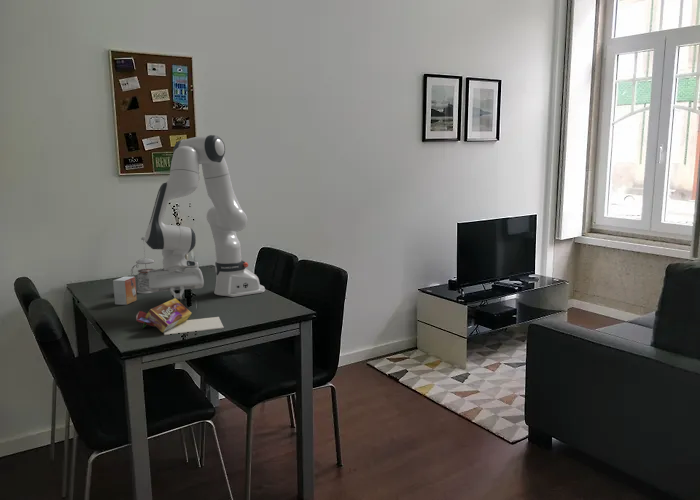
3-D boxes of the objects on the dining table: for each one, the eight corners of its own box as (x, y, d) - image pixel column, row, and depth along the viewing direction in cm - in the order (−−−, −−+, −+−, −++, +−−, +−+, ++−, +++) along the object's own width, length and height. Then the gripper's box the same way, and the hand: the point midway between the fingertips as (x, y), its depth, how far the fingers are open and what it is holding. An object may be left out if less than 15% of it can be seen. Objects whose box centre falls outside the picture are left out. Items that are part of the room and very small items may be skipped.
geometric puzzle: (164, 318, 212) (150, 302, 211) (158, 324, 205) (144, 307, 204) (149, 329, 213) (135, 313, 212) (143, 335, 206) (128, 319, 205)
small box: (126, 305, 239) (124, 280, 237) (114, 304, 240) (112, 280, 238) (137, 300, 246) (135, 276, 245) (125, 299, 248) (123, 276, 246)
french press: (154, 293, 257) (150, 238, 253) (128, 293, 258) (124, 238, 253) (161, 288, 267) (158, 235, 263) (137, 288, 267) (132, 235, 263)
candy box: (170, 305, 216) (144, 316, 202) (175, 297, 215) (150, 307, 201) (186, 321, 215) (162, 333, 201) (192, 313, 214) (168, 324, 200)
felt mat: (218, 317, 219) (218, 316, 219) (223, 328, 206) (223, 327, 206) (162, 323, 212) (162, 322, 212) (164, 335, 199) (164, 334, 199)
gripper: (146, 265, 217) (148, 297, 210) (201, 261, 224) (205, 292, 217) (147, 274, 222) (149, 305, 215) (201, 270, 229) (205, 300, 222)
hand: (178, 298), depth 216 cm, fingers closed
